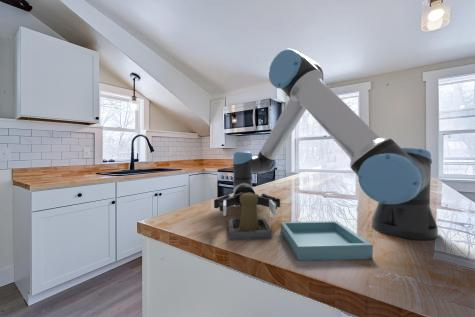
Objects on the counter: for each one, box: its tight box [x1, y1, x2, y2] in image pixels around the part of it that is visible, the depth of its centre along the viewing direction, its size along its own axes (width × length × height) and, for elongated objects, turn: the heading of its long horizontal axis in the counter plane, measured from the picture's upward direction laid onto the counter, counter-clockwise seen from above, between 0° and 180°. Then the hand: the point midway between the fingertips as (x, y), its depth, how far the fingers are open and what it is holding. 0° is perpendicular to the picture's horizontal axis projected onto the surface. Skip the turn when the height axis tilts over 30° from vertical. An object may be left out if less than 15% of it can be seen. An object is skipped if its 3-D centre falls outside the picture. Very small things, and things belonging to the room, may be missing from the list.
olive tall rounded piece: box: [238, 193, 260, 230], centre depth 64 cm, size 6×6×11 cm
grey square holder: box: [229, 217, 273, 241], centre depth 64 cm, size 11×11×2 cm
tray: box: [280, 220, 374, 262], centre depth 55 cm, size 16×16×3 cm
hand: (249, 210), depth 61 cm, fingers open, 13 cm apart
